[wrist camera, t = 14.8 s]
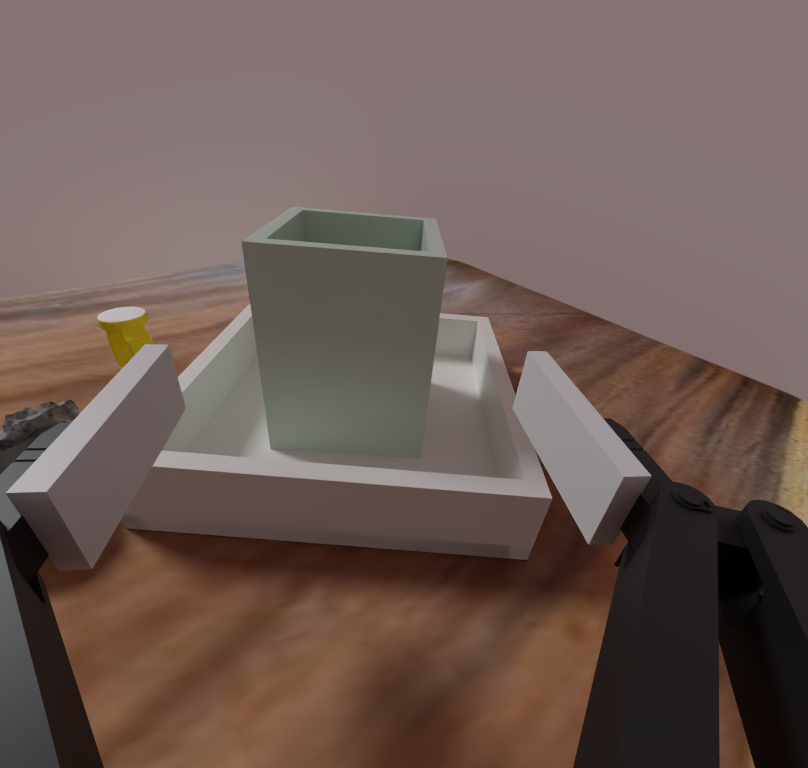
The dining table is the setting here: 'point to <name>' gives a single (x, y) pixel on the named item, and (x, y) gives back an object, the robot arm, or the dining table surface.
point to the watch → (125, 331)
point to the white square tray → (352, 462)
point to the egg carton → (31, 427)
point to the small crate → (346, 328)
